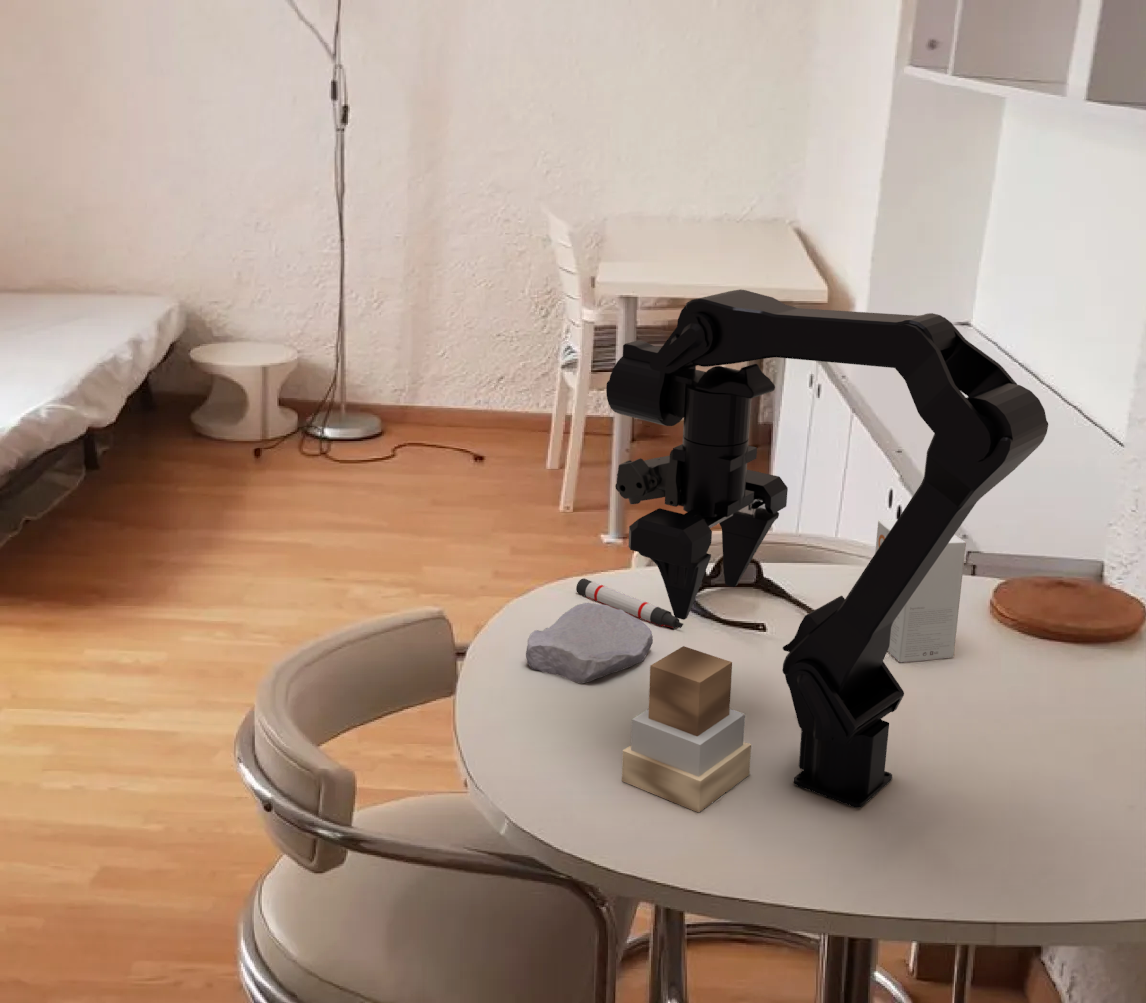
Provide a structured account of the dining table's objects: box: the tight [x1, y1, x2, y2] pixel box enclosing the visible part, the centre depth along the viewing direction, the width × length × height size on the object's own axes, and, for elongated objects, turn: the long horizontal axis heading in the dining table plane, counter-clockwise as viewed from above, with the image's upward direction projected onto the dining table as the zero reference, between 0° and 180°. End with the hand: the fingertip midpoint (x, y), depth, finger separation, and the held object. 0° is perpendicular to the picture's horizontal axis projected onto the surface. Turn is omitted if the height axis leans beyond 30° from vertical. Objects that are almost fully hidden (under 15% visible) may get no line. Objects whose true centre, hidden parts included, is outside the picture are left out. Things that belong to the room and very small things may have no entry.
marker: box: [576, 578, 684, 629], centre depth 155 cm, size 15×2×2 cm, turn 45°
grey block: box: [630, 708, 746, 777], centre depth 120 cm, size 7×7×3 cm
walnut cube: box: [648, 645, 733, 736], centre depth 119 cm, size 5×5×5 cm
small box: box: [874, 518, 967, 663], centre depth 146 cm, size 8×6×13 cm
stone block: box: [525, 602, 654, 684], centre depth 144 cm, size 12×5×10 cm
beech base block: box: [621, 741, 752, 813], centre depth 121 cm, size 8×8×3 cm
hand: (706, 601), depth 126 cm, fingers open, 9 cm apart
